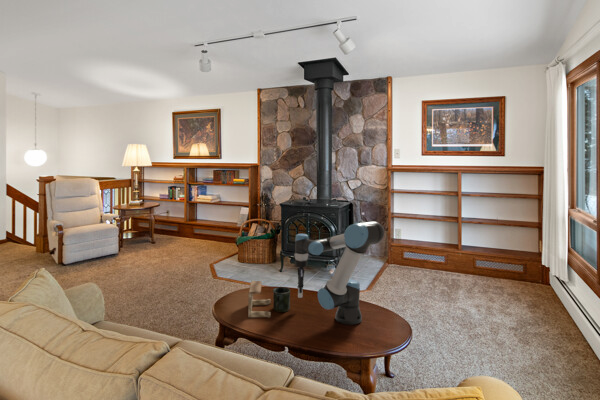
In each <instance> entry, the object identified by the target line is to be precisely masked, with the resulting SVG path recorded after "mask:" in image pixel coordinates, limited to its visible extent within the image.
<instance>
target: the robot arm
mask: <svg viewBox="0 0 600 400" xmlns="http://www.w3.org/2000/svg"><path fill="white" fill-rule="evenodd" d="M385 233H386V232H385V228H384V226H383V224H381V223H379V222H377V221H374V220H373V221H364V222H356V223H353V224H350V225H349V226H347V228H346V229H345V231H344V233H341V234H337V235H334V236H330V237H326V238H320V239H315V240H314V239H309V235H308V234H306V233H297V234H296V235H295V241H294V243H295V244H294V247H295V249H294V254H293V255H294V259H295V260H294V266H295V267H296V268H297V286H296V287H297V298H299V299H301V298H303V297H304V296H303V294H304V292H303V291H304V279H305V278H304V277H305V268H306V267H307V266H308V259H309V258H308V255H309V254H311V255H313V256H314V255H315V256H320V255H321V254H322V253H324V252H329V251H334V250H338V249H341V248H344V251H343V252H342V256H341V257H340V260H339V262H338V264H337V266H336V268H335V271H334V272H333V275H332V277H331V279H328V280H327V281H326V283H325V285H324V287H321V288H320V289H318V290H317V300H318V303H319V304H320V306H321V307H322V308H324V309H325V310H333V309H335V308H337V309H336V312H335V316H334V317H335V320H336V322H338V323H340V324H343V325H348V326H349V325H350V326H351V325H358V324H360V323H362V321H363V320H362V319H363V316H362V313H361V308H360V293H361V292H360V291H361V286H360V282H359V281H358V280H355V279H351V277H352V275H353V273H354V271H355V269H356V267H357V265H358V262H359V261H360V259H361V256H362V255H365V254H366V253H367V252H368V249H369V247H370V246H373V245H376V244H379V243H380V242H382V241H383V240H384V238H385ZM308 253H309V254H308Z"/></svg>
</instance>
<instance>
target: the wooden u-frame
mask: <svg viewBox="0 0 600 400" xmlns="http://www.w3.org/2000/svg"><path fill="white" fill-rule="evenodd" d="M261 293H262V280H251V281H250V283H249V290H248V295H247V298H248V299H247V301H248V310H247V312H248V315H247V316H248V318H270V319H271V317H272V314H271V313H272V312H271V311H266V310H264V311H263V310H262V311H261V310H260V311H259V310H258V311H253V306H269V305H271V304H272V303H271V301H272V300H271V298H268V299H254V296H253V295H256V294H261Z"/></svg>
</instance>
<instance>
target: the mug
mask: <svg viewBox="0 0 600 400" xmlns="http://www.w3.org/2000/svg"><path fill="white" fill-rule="evenodd" d="M291 290H292V289H290V288H289V287H285V286H279V287H274V288H273V289H272V293H273V297H272V298H273V307H272V308H273V310H274V311H275V312H278V313H285V312H288V311H289V310H290V309H291V308H290V307H291Z"/></svg>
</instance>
